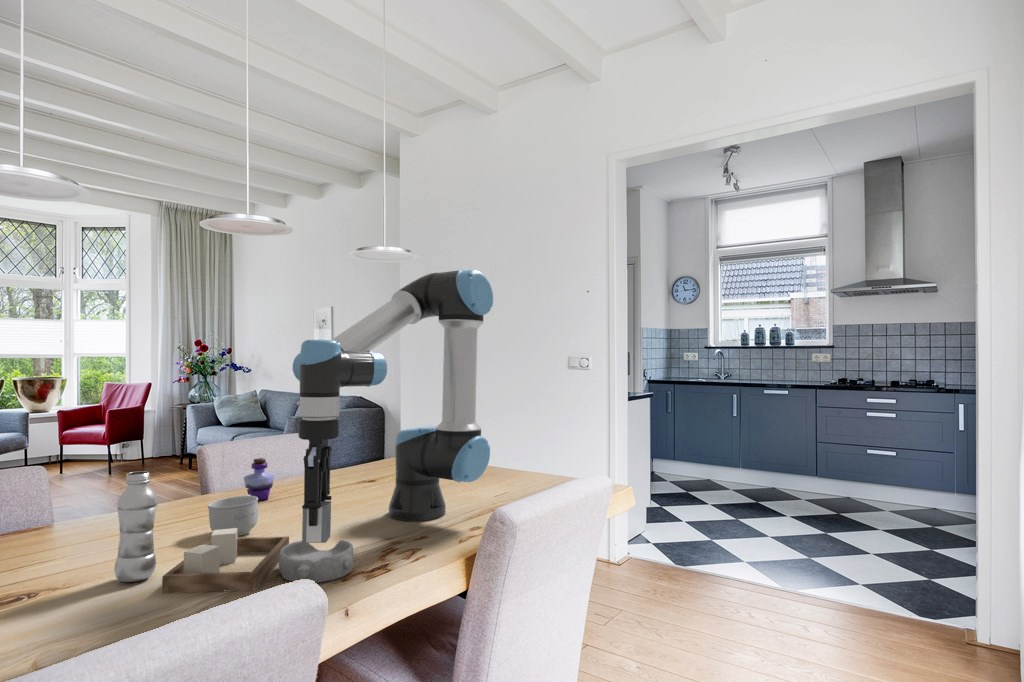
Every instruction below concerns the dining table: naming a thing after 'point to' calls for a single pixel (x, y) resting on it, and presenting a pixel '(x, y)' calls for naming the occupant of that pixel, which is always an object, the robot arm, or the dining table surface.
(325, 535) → the gray block
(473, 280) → the robot arm
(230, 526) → the teacup
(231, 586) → the parts tray
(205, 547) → the white block
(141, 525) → the plastic bottle
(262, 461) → the potion bottle
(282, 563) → the dish
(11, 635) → the dining table surface
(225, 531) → the white block
